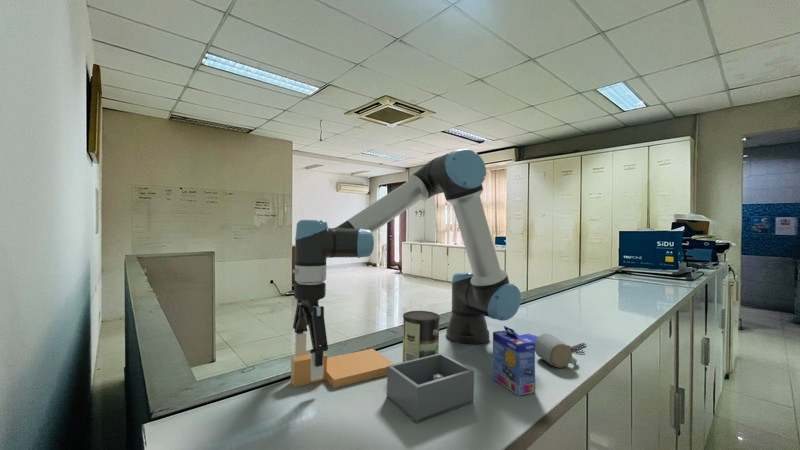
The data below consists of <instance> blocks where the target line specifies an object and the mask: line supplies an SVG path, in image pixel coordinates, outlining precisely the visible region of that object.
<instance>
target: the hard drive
mask: <svg viewBox="0 0 800 450" xmlns="http://www.w3.org/2000/svg"><path fill="white" fill-rule="evenodd" d="M520 336H522V337H525V338H527V339H529V340H532V341H534V342H535V341H536V339H537V338H538V337H539V335H538V336H537V335H534V334H532V333H525V334H520Z"/></svg>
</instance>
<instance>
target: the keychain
mask: <svg viewBox="0 0 800 450" xmlns="http://www.w3.org/2000/svg"><path fill="white" fill-rule="evenodd" d="M586 344H587V343H585V342H582V343H578V344H575V345H573V346H570V345H567V344H566V345H567V346H568V347H569V348H570V349H571V351H572V352H573V351H574V352H573V353H575V352H576V354H577V353H584V352H585V351H584V350H583V349H582V348H580V347H582V346H584V345H586ZM586 346H587V345H586ZM577 348H580V349H577ZM578 350H582V351H584V352H582V351H578ZM584 354H585V353H584Z"/></svg>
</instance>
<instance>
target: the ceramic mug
mask: <svg viewBox="0 0 800 450" xmlns="http://www.w3.org/2000/svg"><path fill="white" fill-rule="evenodd" d="M572 352H573V351H572ZM572 352H571V349H570V348H569V347H568V346H567V343H566V342H564V341H563V340H560V339H559V338H557V337H556V336H554V335H553V334H552V333H547V332H546V333H541V334H540V335H538V338H537V339H536V341H535V355H537V357H539V358H541V360H543V361H545V362H546V363H548V364H550V365H551V366H552V367H554V368H557V369H562V368H565V367H567V366H569V365H570V364H571V365H574V366H575V365H576V364H577V361H578V360H577V358H575V357H574V356H573V353H572Z"/></svg>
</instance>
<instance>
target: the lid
mask: <svg viewBox="0 0 800 450" xmlns="http://www.w3.org/2000/svg"><path fill="white" fill-rule="evenodd" d="M290 359H291V360H290V361H291V362H290V383H291V385H292V386H293V388H297V387H301V386H306V385H309V384H313V383H317V382H323V381H327V382H328V384H329V385H330V386H332V388H333V389H336V388H340V387H344V386H348V385H352V384H356V383H359V382H364V381H367V380H372V379H374V378H375V379H376V378H379V377H382V376H383V377H384V376H387V367H388V366H389V365H393V364H395V363H394V362H392V361H391V360H390V359H388V358H387V357H385V356H384V355H382V354H381V353H380V352H378V351H377V350H375V349H374V348H369V349H364V350H360V351H355V352H349V353H344V354H340V355H335V356H330V357H328V355H327V354H326V353H325V352H324V364H323V378H322V379H318V380H314V381H311V353H308V354H306V355H302V356H297V357H295V356H292V357H291V358H290Z"/></svg>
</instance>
